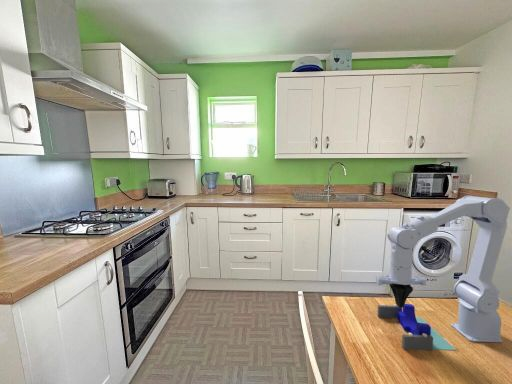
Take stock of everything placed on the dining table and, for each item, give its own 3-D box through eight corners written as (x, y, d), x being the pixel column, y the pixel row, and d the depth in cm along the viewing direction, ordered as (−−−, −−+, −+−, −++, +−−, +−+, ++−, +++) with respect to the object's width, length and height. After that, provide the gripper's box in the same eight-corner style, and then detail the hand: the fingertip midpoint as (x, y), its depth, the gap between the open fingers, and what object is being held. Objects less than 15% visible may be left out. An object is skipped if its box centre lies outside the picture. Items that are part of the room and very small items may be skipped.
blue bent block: (397, 319, 80) (398, 302, 79) (411, 321, 78) (412, 304, 78) (412, 344, 68) (413, 325, 67) (429, 346, 67) (430, 327, 66)
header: (400, 316, 81) (400, 304, 81) (432, 350, 65) (433, 335, 65) (377, 315, 82) (377, 303, 81) (403, 349, 66) (404, 334, 65)
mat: (421, 317, 80) (421, 317, 80) (456, 350, 65) (456, 349, 65) (398, 317, 81) (398, 316, 81) (427, 349, 66) (427, 348, 66)
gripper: (416, 260, 76) (414, 299, 77) (371, 259, 76) (371, 298, 77) (431, 268, 69) (429, 311, 70) (382, 268, 69) (381, 310, 70)
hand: (399, 305), depth 73 cm, fingers closed
